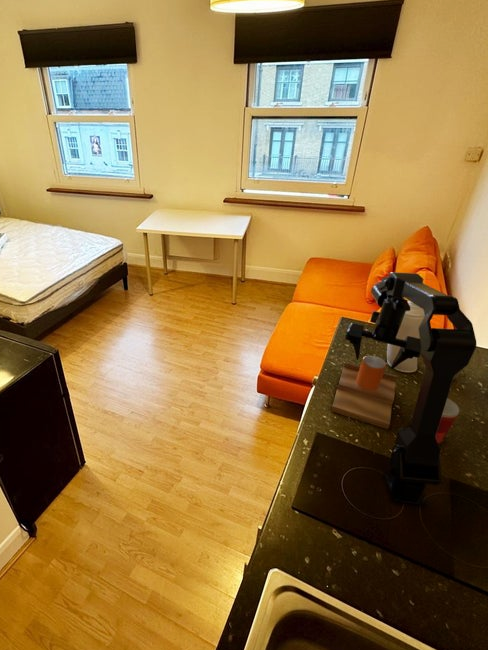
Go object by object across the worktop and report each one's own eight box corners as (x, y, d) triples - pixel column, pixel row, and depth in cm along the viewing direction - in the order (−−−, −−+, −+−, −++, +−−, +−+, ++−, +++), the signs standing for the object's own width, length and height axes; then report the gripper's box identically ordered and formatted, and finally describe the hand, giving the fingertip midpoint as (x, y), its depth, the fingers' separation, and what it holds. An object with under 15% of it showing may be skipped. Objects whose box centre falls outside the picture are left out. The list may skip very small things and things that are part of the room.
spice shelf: (387, 429, 102) (393, 415, 99) (330, 410, 108) (335, 396, 105) (392, 389, 115) (397, 375, 112) (341, 375, 121) (345, 361, 118)
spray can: (397, 377, 120) (424, 310, 106) (371, 359, 128) (393, 294, 114) (422, 368, 124) (452, 301, 110) (396, 350, 132) (420, 287, 118)
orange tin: (381, 391, 109) (389, 369, 104) (358, 388, 110) (365, 367, 105) (376, 377, 114) (383, 356, 110) (354, 374, 115) (360, 353, 111)
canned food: (447, 447, 97) (464, 418, 91) (414, 443, 98) (429, 413, 92) (437, 425, 103) (453, 396, 97) (406, 421, 104) (419, 392, 98)
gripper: (430, 311, 101) (411, 357, 110) (357, 296, 109) (344, 340, 117) (430, 332, 93) (410, 379, 102) (351, 314, 100) (338, 360, 109)
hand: (374, 363), depth 108 cm, fingers open, 9 cm apart
